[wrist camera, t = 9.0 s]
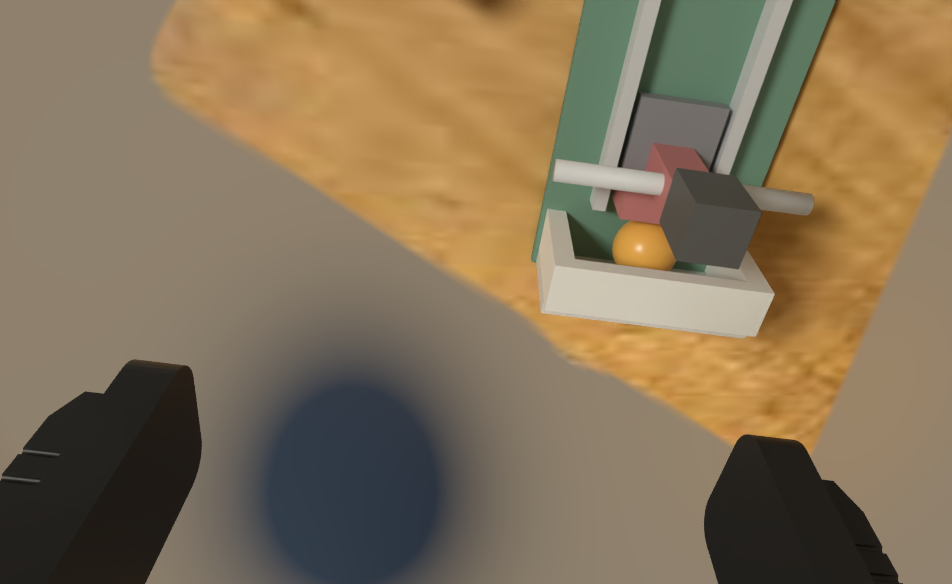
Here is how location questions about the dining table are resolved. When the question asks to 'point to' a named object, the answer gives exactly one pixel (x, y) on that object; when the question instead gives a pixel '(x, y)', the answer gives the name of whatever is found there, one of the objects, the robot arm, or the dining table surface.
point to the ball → (642, 246)
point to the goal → (648, 290)
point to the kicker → (683, 182)
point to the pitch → (677, 91)
